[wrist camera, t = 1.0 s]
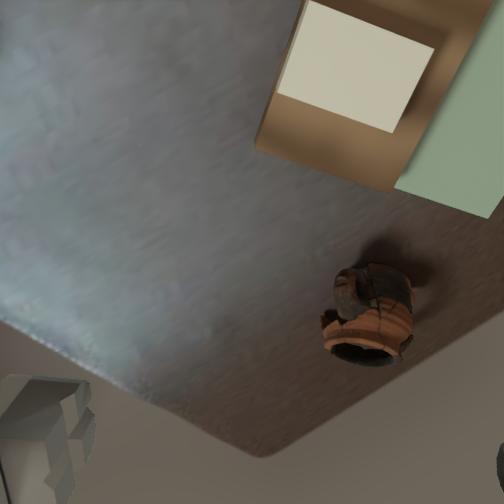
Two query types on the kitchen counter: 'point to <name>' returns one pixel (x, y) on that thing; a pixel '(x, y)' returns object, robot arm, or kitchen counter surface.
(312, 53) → the cream rectangular block
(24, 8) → the kitchen counter surface
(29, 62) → the kitchen counter surface
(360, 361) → the pottery mug
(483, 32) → the mat
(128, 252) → the kitchen counter surface
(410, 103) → the board
